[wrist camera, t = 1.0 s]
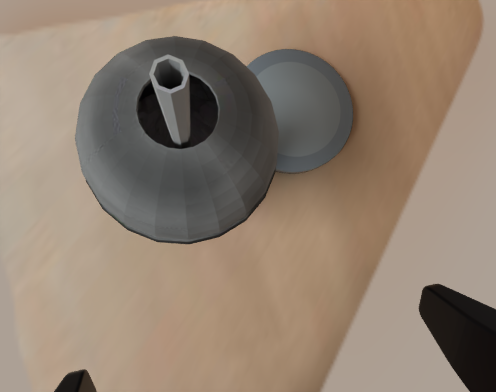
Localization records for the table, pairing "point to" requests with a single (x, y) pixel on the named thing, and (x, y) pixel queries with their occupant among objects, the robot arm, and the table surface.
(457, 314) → the robot arm
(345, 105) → the slate dish
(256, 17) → the table surface
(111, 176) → the beverage cup
